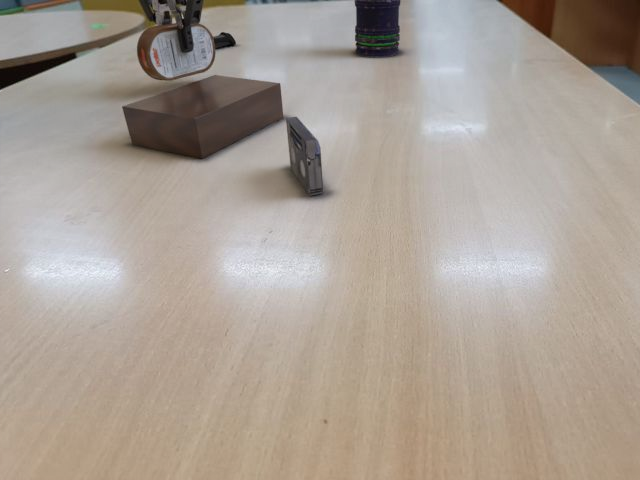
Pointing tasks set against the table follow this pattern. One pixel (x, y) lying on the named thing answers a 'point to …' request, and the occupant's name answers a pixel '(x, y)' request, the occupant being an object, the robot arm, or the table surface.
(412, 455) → the table surface
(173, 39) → the tin
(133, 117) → the block
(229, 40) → the electric trimmer
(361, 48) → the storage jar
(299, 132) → the mini dv tape
